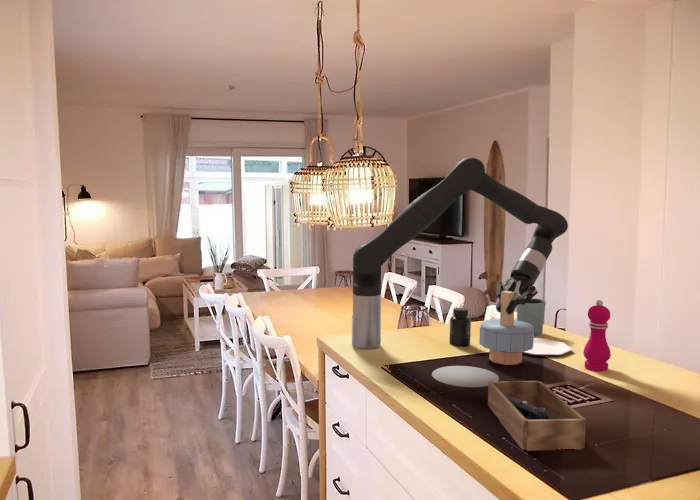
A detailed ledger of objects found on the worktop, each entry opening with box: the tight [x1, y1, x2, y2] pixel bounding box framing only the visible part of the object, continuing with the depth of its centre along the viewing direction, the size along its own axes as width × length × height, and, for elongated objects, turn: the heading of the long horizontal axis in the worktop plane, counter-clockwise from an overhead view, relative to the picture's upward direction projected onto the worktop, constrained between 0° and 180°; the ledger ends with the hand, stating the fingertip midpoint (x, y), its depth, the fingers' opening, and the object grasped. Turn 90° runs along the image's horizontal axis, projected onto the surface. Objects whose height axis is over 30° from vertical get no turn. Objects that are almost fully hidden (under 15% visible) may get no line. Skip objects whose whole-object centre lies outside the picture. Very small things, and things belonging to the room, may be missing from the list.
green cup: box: [516, 297, 547, 337], centre depth 207 cm, size 10×10×12 cm
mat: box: [431, 365, 500, 388], centre depth 158 cm, size 18×18×1 cm
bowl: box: [488, 349, 523, 366], centre depth 173 cm, size 9×9×4 cm
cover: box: [478, 291, 535, 352], centre depth 172 cm, size 15×15×16 cm
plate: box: [522, 337, 573, 357], centre depth 187 cm, size 20×20×2 cm
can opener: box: [504, 395, 549, 420], centre depth 128 cm, size 18×7×6 cm, turn 18°
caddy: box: [487, 380, 587, 452], centre depth 126 cm, size 13×24×6 cm, turn 4°
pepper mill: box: [582, 299, 611, 372], centre depth 166 cm, size 7×7×20 cm
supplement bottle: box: [448, 307, 472, 348], centre depth 191 cm, size 7×7×12 cm
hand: (503, 311), depth 171 cm, fingers closed on cover, 2 cm apart
